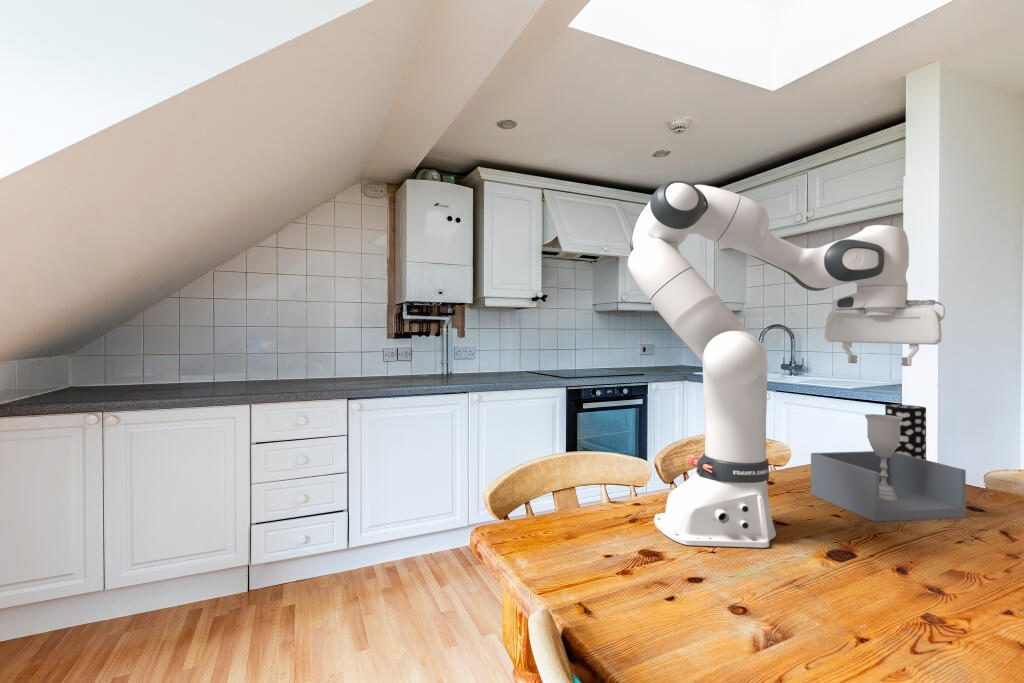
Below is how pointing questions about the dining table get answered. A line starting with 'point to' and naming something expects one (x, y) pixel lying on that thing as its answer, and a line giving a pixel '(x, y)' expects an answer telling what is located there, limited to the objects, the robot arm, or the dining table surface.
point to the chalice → (884, 446)
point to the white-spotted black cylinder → (910, 429)
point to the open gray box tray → (913, 480)
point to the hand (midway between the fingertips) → (878, 364)
